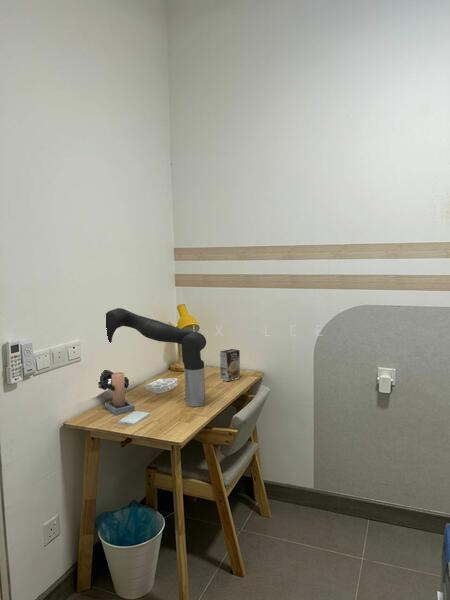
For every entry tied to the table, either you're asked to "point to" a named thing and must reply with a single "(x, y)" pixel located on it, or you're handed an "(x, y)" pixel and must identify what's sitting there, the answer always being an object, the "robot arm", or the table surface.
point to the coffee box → (230, 364)
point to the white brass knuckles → (162, 385)
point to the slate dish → (119, 408)
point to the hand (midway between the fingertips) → (120, 387)
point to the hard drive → (134, 418)
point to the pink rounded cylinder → (118, 389)
